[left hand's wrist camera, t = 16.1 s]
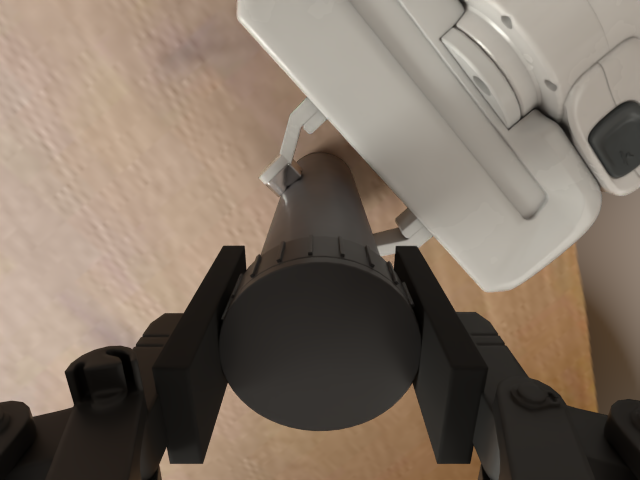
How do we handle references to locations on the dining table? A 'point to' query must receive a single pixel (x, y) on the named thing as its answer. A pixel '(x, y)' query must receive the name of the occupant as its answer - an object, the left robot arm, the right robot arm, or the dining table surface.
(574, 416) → the left robot arm
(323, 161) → the grey capped tube
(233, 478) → the dining table surface
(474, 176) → the right robot arm
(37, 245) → the dining table surface
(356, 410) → the lid
